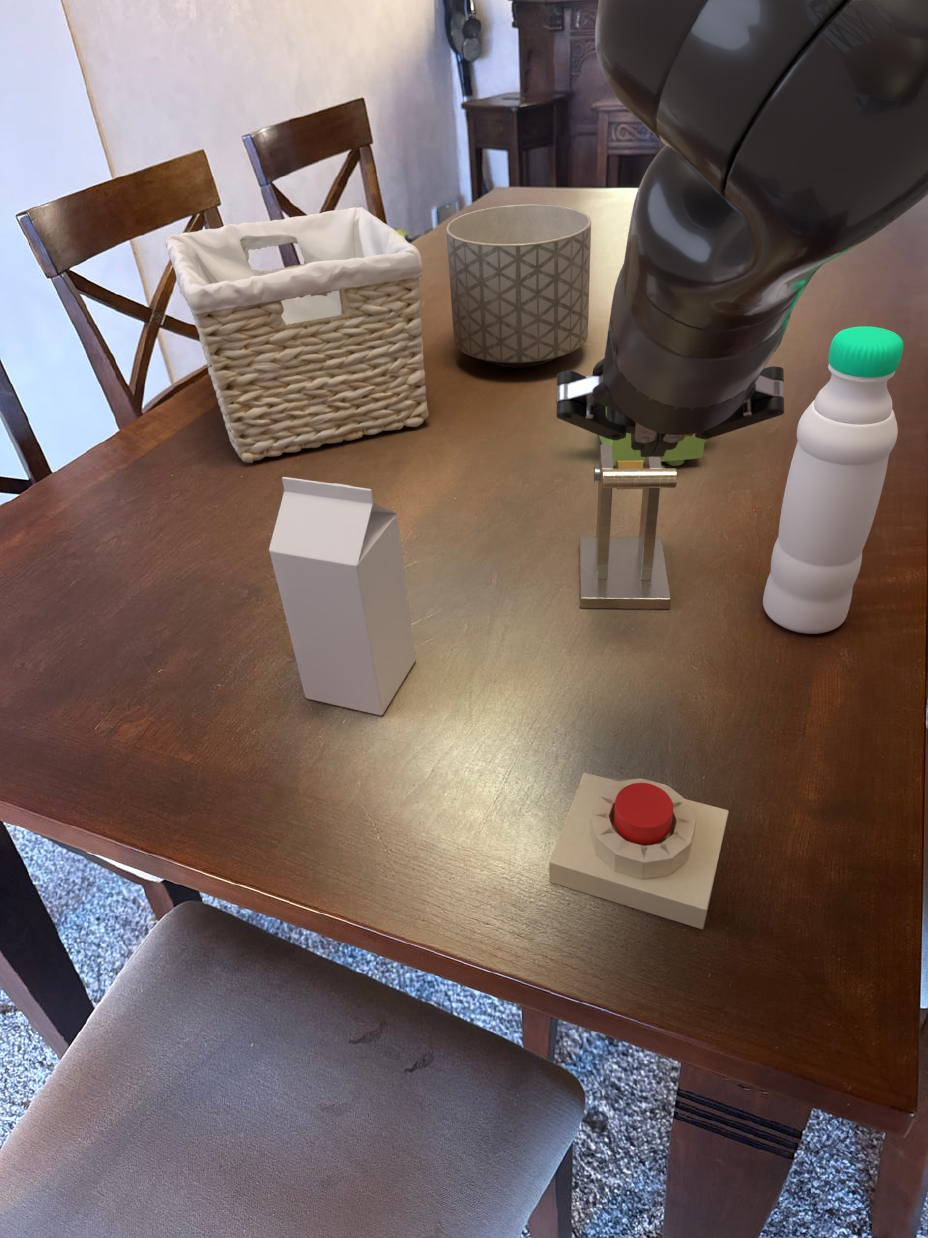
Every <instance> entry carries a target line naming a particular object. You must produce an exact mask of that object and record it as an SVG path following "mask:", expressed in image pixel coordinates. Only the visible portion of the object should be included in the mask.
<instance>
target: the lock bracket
mask: <svg viewBox="0 0 928 1238" xmlns="http://www.w3.org/2000/svg"><path fill="white" fill-rule="evenodd" d="M603 469H614V466H613V456H612V445H603V444H600V445H599V465H598V466H594V468H593V483H594V484H598V485H597V488H598V489H597V509H596V510H597V512H596V530H595V531H596V535H595V536H580V537H579V542H578V544H579V545H578V550H579V553H578V555H579V557H578V558H579V600H580V601H579V607H580V609H613V610H615V609H617V610H618V609H621V610H623V609H624V610H627V609H628V610H629V609H630V610H670V609H671V601H672V599H671V598H672V597H671V592H670V585H669V584H670V583H669V579H668V578H669V577H668V571H667V563H666V557H665V552H664V551H665V550H664V544H663V538H662V536H656V535H657V526H658V525H657V524H658V516H659V504H660V494H661V488H643V489H642V493H641V494H642V495H641V505H640V507H641V508H640V517H639V518H640V519H639V530H638V536H611V526H612V525H611V521H612V505H613V488H602V470H603ZM643 469H666V466H664V465H662V462H661V460H660V457H645V463H644V467H643Z"/></svg>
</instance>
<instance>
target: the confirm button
mask: <svg viewBox="0 0 928 1238" xmlns="http://www.w3.org/2000/svg"><path fill="white" fill-rule="evenodd" d="M672 815H673V803H672V800H671V798H670V797H669V795H668V794H667V793H666V792H665V791H664V790H662V789H661V788H659V787H657V786H655V785H652V784H648V783H634V784H630V785H628V786H626V787H624V788H623V789H622V790H621V791H620V792H619V793H618V795H617V797H616V800H615V812H614V824H615V827H616V829H617V831H618V832H619V833H620V835H622V836H623V837H624V838H625V839H627V840H628V841H630V842H633V843H636V844H641V845H650V844H655V843H658V842H660V841H661V840H663V839H664V838H665V837H666V836H667V835H668V833H669V831H670V828H671V822H672Z"/></svg>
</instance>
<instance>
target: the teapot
mask: <svg viewBox="0 0 928 1238" xmlns="http://www.w3.org/2000/svg"><path fill="white" fill-rule="evenodd" d="M606 414H607V407H606ZM598 436H599V439H600V441H601V445H612V456H613V467H614V466H615V467H616V461H617V460H641V461H644V464H645V457H641V453H640V450H633V449H632V448H631V434H630V433H626V437H625V438H623V439H620V440H611V439H607V438H605V437H602V436H600V435H598ZM705 443H706V439H700V438H696V437H695V433H694V434H693V435H692V436H685V438H684V439H683V440H682V441H679V442H678V444H677V446H676V448H674V449H672V450H666V452H665V454H664V457H660V460H661V463H662V462H663V463H664V462H665V464H667V465H669V466H672V467H673V466H677V467H678V466H681V465H683V464H684V463H685V460H697V459H703V458H704V453H705V452H704V451H705Z"/></svg>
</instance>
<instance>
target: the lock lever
mask: <svg viewBox="0 0 928 1238" xmlns="http://www.w3.org/2000/svg"><path fill="white" fill-rule="evenodd" d="M644 468H645V463H644V461H641V460H617V461H616V466H615V468H613V469H603V470H602V488H612V489H617V490H643V488H660V489H675V488H677V484H678V483H677V482H678V470H677V468H665V469H644Z"/></svg>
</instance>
